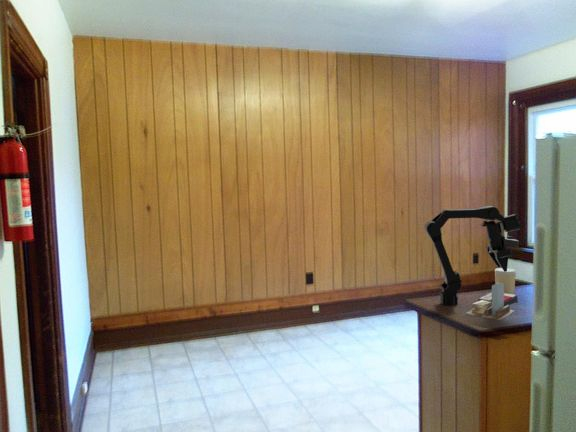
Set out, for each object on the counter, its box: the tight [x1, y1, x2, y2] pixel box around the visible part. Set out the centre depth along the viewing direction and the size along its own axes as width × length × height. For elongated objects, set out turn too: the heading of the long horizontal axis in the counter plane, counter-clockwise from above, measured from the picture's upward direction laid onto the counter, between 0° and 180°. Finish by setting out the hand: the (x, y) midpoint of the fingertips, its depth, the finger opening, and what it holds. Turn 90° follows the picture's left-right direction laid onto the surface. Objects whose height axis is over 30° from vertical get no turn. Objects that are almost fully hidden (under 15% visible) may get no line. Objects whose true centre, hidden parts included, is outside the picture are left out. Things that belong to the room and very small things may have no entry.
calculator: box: [477, 292, 518, 307], centre depth 206 cm, size 11×4×15 cm
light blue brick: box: [491, 283, 505, 315], centre depth 188 cm, size 2×6×12 cm, turn 134°
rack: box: [466, 304, 516, 321], centre depth 191 cm, size 14×16×4 cm
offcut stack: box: [471, 300, 492, 314], centre depth 193 cm, size 5×9×3 cm, turn 134°
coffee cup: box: [494, 267, 517, 295], centre depth 220 cm, size 9×9×12 cm
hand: (502, 269), depth 199 cm, fingers open, 9 cm apart
